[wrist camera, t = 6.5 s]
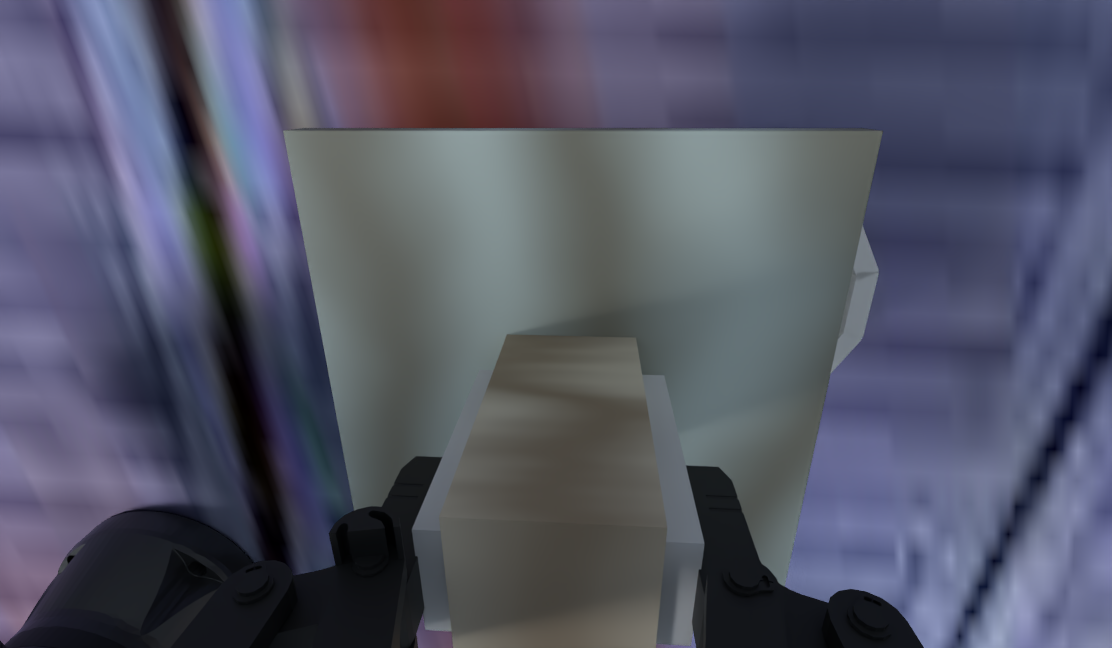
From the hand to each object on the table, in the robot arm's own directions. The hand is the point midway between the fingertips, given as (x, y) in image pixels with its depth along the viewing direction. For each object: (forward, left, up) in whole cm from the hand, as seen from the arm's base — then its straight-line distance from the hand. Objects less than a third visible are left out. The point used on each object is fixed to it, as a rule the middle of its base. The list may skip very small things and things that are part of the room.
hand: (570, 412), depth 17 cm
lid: (0, 0, -2) cm, 2 cm away
